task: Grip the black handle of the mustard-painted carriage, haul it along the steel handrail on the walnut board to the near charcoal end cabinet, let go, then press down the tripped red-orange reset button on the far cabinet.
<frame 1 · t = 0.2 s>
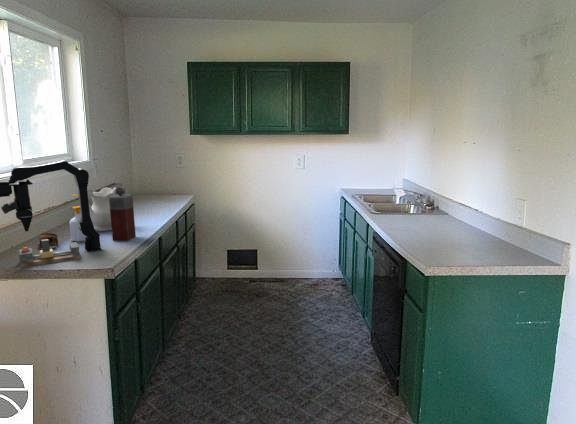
hand: (26, 229, 203), 14 cm above the worktop, fingers open, 9 cm apart
brown syrup bottle: (125, 238, 242), on the worktop
pottery mug: (49, 247, 226), on the worktop
soap bottle: (80, 239, 240), on the worktop
reset button: (25, 250, 198), point 6 cm above the worktop, slide at 0.0 cm
carriage: (45, 248, 202), point 6 cm above the worktop, slide at 0.0 cm
rail board: (52, 259, 204), on the worktop
ceramic pitcher: (104, 229, 263), on the worktop
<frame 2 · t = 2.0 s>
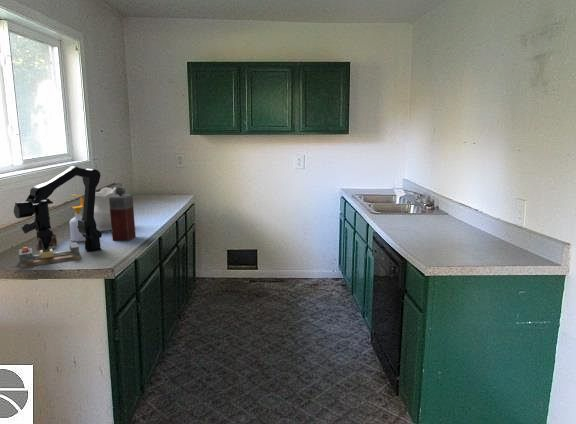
hand: (46, 248, 202), 6 cm above the worktop, fingers closed on carriage, 3 cm apart
carriage: (45, 248, 202), point 6 cm above the worktop, slide at 0.0 cm, touching gripper
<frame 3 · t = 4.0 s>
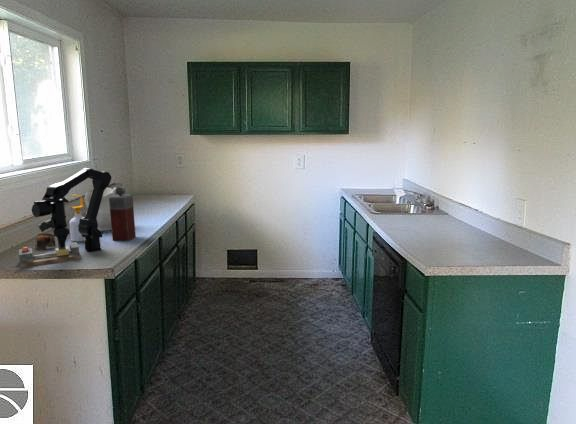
hand: (61, 246, 205), 5 cm above the worktop, fingers closed on carriage, 3 cm apart
carriage: (61, 246, 205), point 6 cm above the worktop, slide at 6.4 cm, touching gripper
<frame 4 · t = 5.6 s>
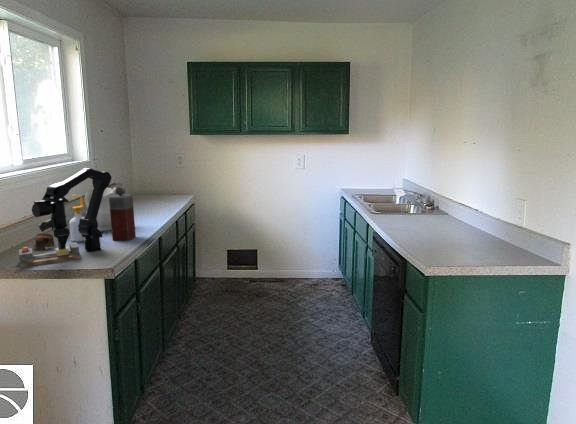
hand: (61, 246, 205), 6 cm above the worktop, fingers open, 9 cm apart
carriage: (61, 246, 205), point 6 cm above the worktop, slide at 6.5 cm
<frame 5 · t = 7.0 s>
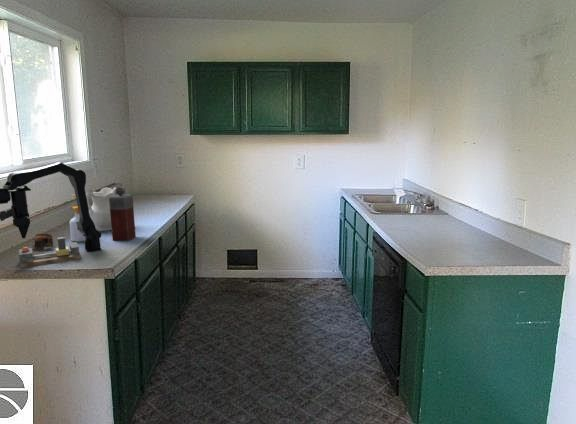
hand: (23, 236, 197), 12 cm above the worktop, fingers open, 5 cm apart
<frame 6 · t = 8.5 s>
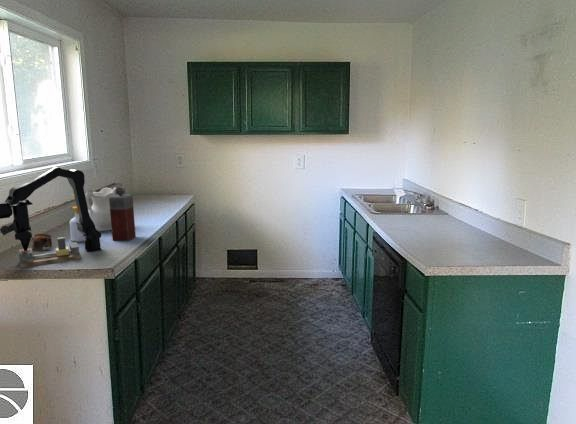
hand: (25, 250, 198), 6 cm above the worktop, fingers closed, pressing on reset button
reset button: (25, 253, 198), point 5 cm above the worktop, slide at 1.4 cm, touching gripper
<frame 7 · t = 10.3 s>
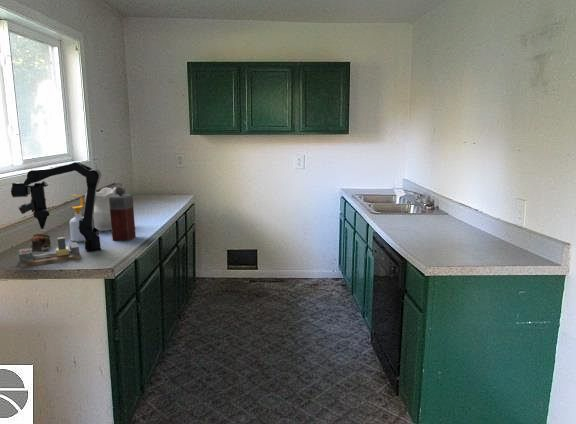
hand: (42, 228, 213), 12 cm above the worktop, fingers closed
reset button: (25, 253, 198), point 4 cm above the worktop, slide at 1.5 cm
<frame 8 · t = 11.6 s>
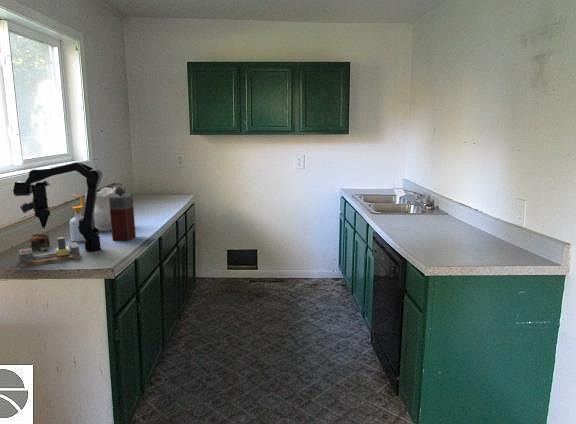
hand: (43, 227, 214), 12 cm above the worktop, fingers closed
at the end: carriage slide at 6.5 cm; reset button slide at 1.5 cm; the gripper is holding nothing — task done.
